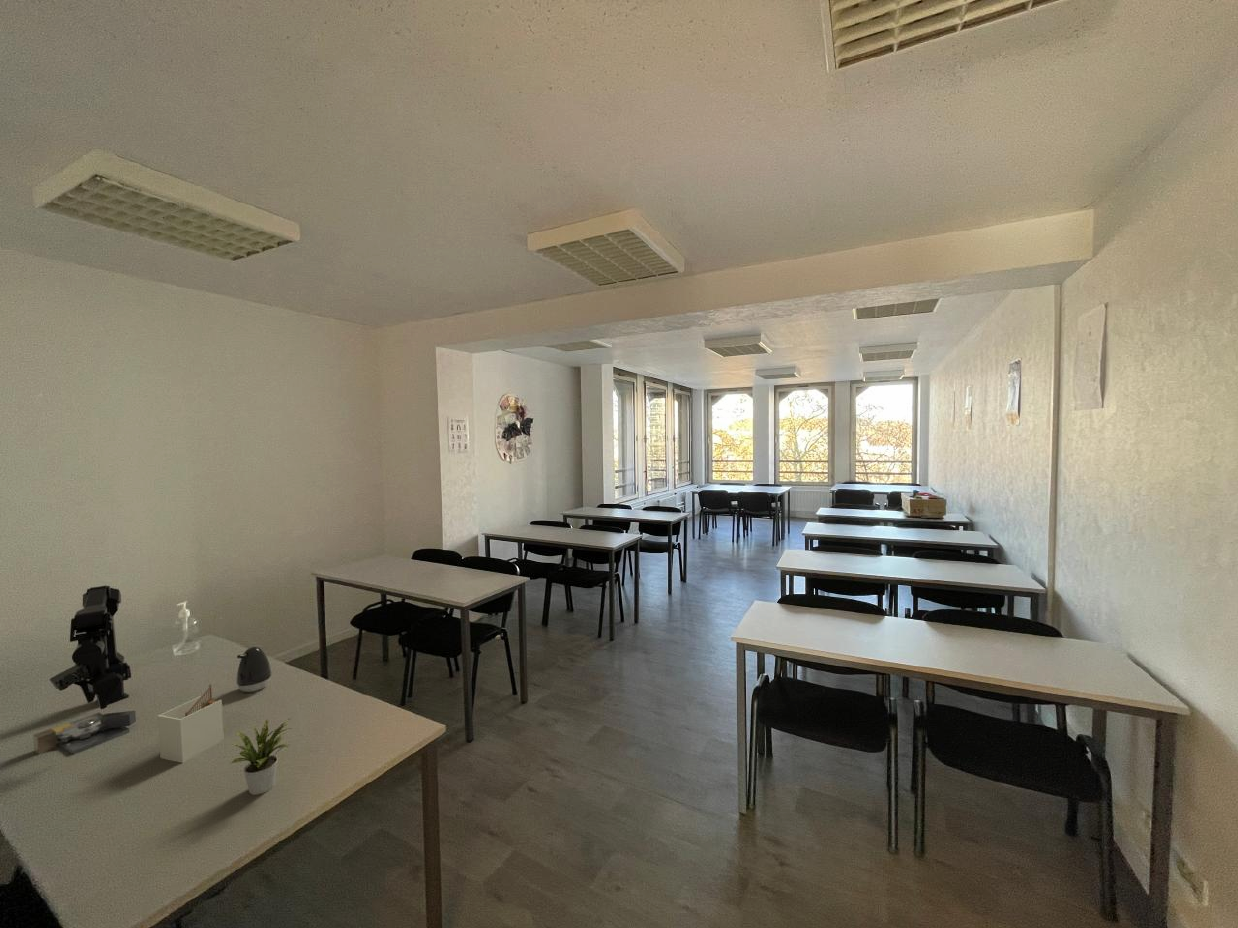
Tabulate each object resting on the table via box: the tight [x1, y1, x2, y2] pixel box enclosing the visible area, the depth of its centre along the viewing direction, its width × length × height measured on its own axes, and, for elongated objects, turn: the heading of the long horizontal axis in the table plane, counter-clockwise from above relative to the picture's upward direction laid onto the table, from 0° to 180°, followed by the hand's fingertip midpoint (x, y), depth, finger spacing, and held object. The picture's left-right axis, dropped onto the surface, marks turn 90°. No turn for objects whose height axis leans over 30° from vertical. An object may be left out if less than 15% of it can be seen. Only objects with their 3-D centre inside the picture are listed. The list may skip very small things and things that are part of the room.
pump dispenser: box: [235, 646, 273, 693], centre depth 175 cm, size 10×10×15 cm
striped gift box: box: [32, 728, 58, 756], centre depth 142 cm, size 4×4×5 cm
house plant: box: [229, 717, 293, 796], centre depth 124 cm, size 14×14×16 cm
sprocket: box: [56, 710, 137, 742], centre depth 150 cm, size 18×12×4 cm
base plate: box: [52, 712, 130, 755], centre depth 150 cm, size 22×12×1 cm, turn 64°
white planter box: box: [157, 684, 225, 764], centre depth 141 cm, size 9×11×17 cm
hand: (96, 705), depth 145 cm, fingers open, 9 cm apart
